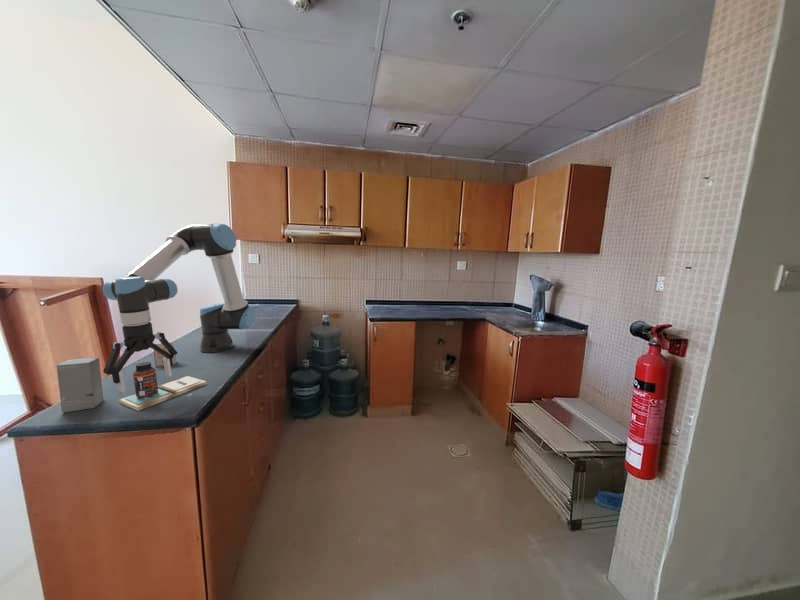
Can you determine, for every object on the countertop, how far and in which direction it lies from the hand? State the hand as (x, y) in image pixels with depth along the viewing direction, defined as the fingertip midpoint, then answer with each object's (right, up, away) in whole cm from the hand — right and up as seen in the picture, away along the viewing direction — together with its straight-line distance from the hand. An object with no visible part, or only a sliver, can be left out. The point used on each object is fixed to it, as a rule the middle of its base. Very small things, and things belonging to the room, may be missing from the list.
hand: (146, 383), depth 106 cm
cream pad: (+5, -3, +10) cm, 11 cm away
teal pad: (0, -5, 0) cm, 5 cm away
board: (+3, -5, +5) cm, 8 cm away
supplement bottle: (0, -4, 0) cm, 4 cm away
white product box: (-19, -1, +33) cm, 38 cm away
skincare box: (-17, -7, -4) cm, 19 cm away
